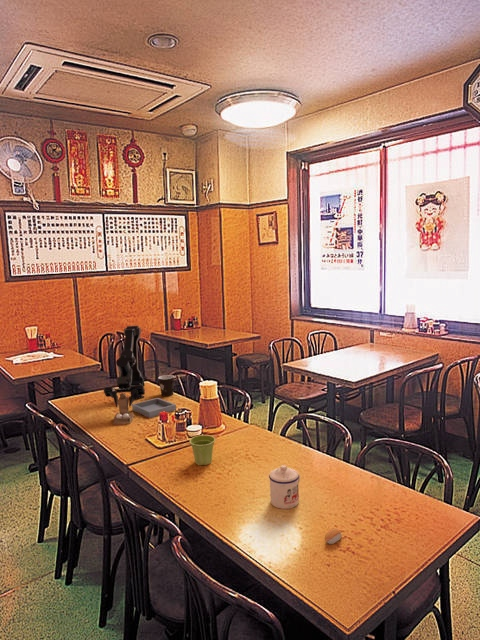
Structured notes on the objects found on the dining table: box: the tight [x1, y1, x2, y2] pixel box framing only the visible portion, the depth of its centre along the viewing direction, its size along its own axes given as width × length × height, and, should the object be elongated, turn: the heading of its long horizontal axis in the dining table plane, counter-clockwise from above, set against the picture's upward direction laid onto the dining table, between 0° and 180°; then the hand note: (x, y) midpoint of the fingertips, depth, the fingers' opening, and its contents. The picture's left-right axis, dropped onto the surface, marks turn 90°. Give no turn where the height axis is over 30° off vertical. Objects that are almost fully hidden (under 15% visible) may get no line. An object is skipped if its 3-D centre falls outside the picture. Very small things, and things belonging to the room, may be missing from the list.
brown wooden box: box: [112, 392, 134, 426], centre depth 227 cm, size 9×8×12 cm
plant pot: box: [189, 434, 216, 466], centre depth 179 cm, size 9×9×9 cm
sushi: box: [324, 528, 342, 545], centre depth 128 cm, size 3×6×3 cm, turn 132°
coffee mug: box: [157, 374, 178, 397], centre depth 265 cm, size 12×9×10 cm
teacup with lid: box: [268, 464, 301, 510], centre depth 149 cm, size 12×9×12 cm
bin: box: [131, 397, 177, 419], centre depth 241 cm, size 17×15×3 cm
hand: (123, 406), depth 228 cm, fingers open, 6 cm apart
